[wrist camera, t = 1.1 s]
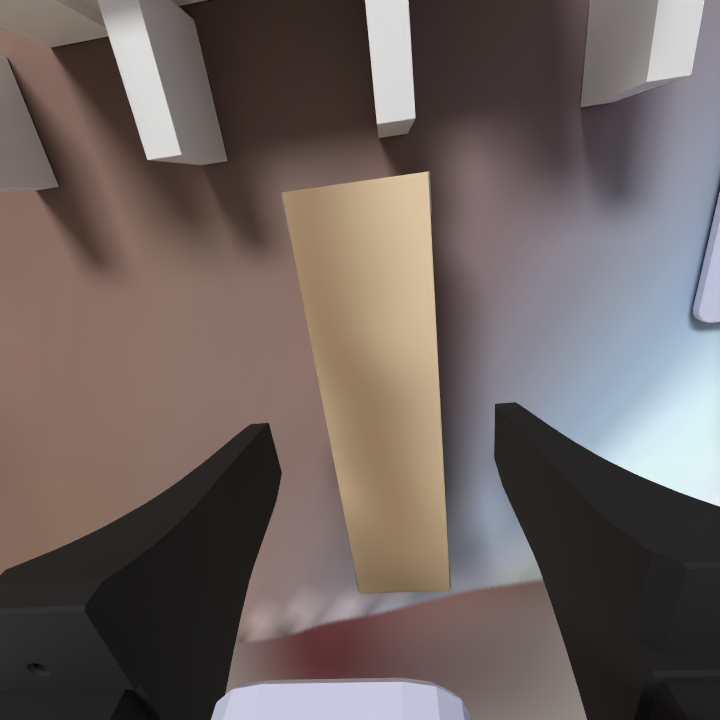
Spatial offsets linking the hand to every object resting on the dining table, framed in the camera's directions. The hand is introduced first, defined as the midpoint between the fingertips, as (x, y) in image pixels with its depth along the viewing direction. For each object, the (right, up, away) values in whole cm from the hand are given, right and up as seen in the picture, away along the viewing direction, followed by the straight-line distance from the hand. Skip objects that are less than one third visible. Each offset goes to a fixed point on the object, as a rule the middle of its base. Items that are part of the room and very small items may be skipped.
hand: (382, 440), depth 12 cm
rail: (0, +2, +5) cm, 5 cm away
